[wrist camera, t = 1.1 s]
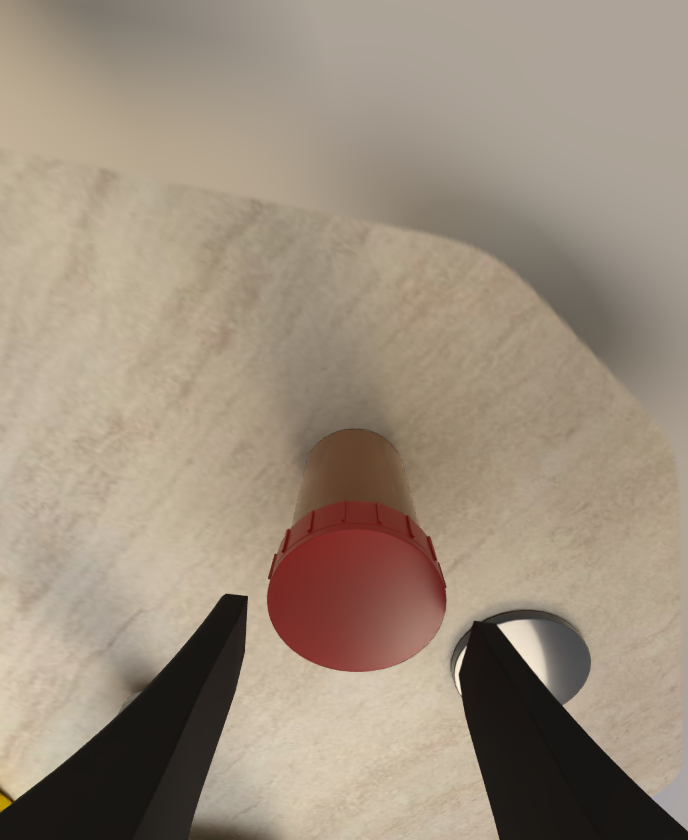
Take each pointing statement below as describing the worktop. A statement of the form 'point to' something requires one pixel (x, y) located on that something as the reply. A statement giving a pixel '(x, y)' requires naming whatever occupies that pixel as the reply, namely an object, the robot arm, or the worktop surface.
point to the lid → (356, 587)
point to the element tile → (4, 802)
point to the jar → (354, 474)
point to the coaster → (541, 650)
